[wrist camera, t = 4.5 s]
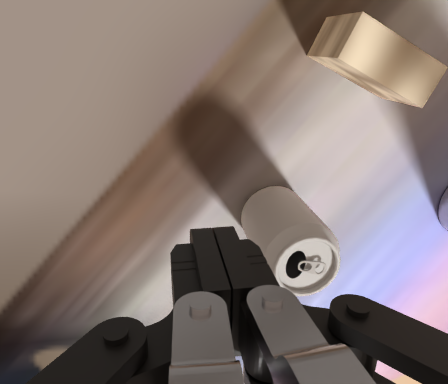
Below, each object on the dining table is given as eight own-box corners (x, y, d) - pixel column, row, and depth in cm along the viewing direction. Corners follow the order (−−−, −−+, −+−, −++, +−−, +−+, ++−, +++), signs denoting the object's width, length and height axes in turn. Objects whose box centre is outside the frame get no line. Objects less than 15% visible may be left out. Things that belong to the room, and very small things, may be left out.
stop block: (400, 63, 40) (448, 67, 33) (380, 97, 41) (422, 108, 35) (326, 16, 37) (363, 11, 30) (306, 55, 38) (337, 58, 31)
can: (245, 180, 42) (277, 229, 31) (306, 185, 43) (358, 233, 32) (234, 239, 44) (260, 303, 33) (293, 241, 46) (336, 304, 35)
